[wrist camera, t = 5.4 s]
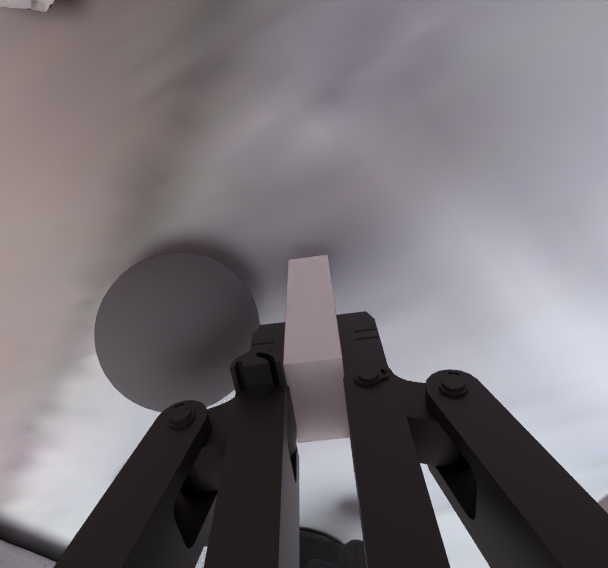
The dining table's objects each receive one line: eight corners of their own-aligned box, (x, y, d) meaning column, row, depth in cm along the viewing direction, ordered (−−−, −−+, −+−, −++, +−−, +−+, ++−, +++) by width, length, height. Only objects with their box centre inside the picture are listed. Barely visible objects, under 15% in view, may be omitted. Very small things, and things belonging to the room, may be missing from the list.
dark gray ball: (100, 343, 12) (40, 284, 16) (179, 479, 15) (112, 400, 19) (268, 242, 15) (181, 214, 19) (306, 373, 18) (224, 324, 22)
